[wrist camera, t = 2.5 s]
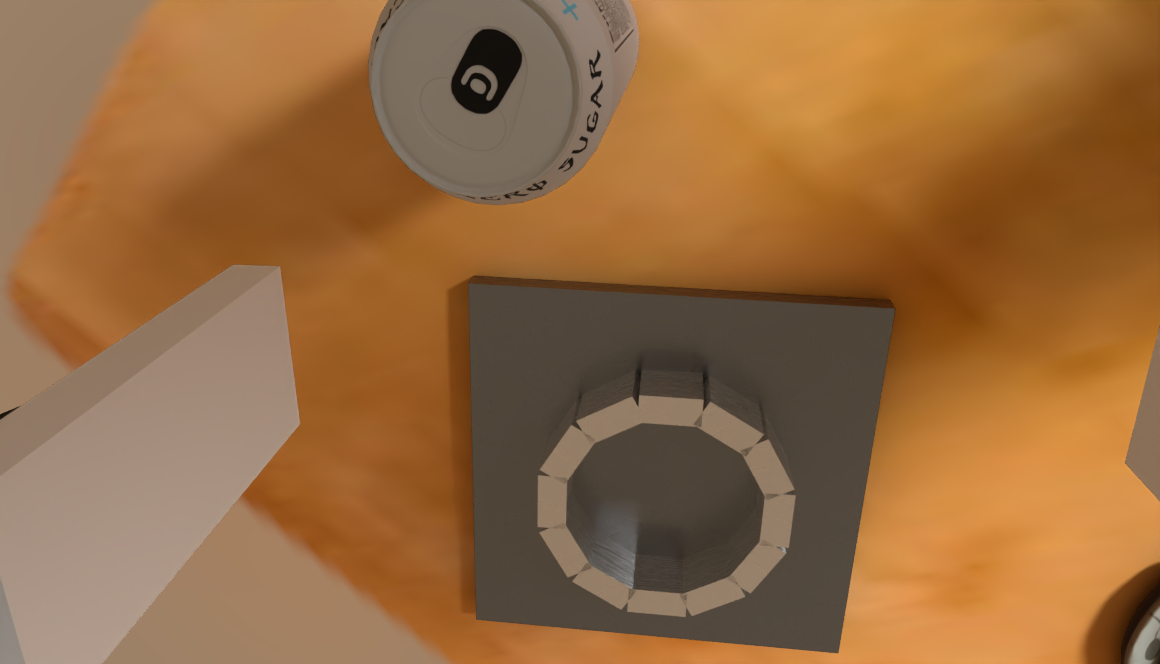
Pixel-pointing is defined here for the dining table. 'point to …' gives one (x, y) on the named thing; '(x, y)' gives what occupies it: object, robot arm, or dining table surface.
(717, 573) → the ring collar
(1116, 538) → the dining table surface
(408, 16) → the energy drink can
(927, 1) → the dining table surface
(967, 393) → the dining table surface
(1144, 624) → the salad plate
